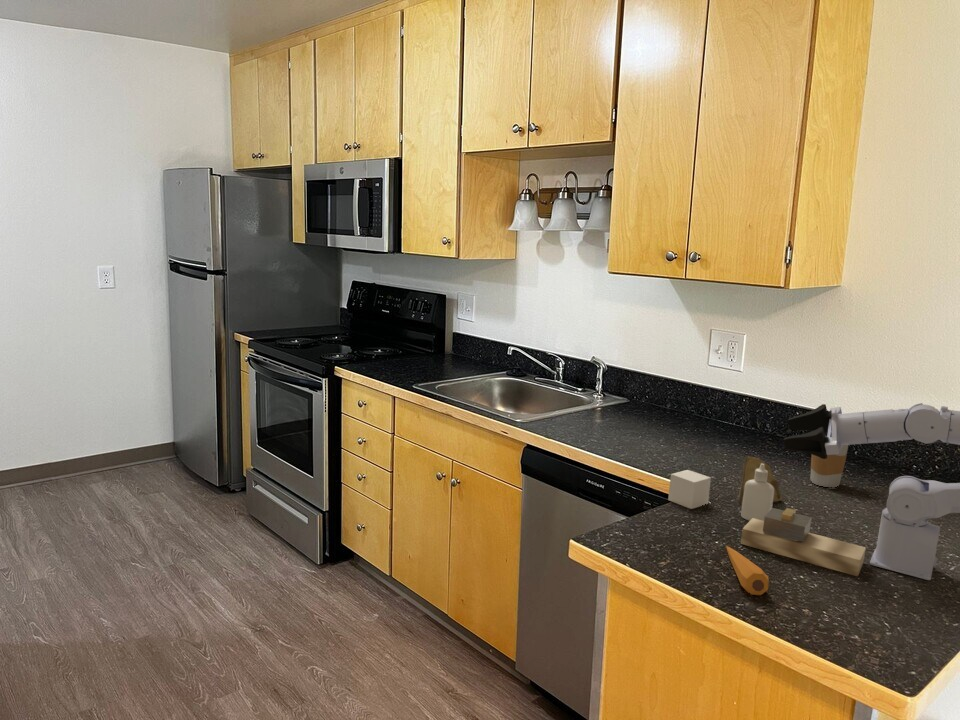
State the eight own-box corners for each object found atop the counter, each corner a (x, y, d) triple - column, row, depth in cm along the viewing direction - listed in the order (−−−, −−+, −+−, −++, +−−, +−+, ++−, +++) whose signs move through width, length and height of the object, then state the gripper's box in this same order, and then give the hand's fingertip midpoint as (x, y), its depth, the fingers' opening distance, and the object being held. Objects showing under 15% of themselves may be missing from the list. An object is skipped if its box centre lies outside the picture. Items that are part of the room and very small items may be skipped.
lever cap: (809, 531, 138) (812, 512, 137) (802, 541, 133) (805, 521, 132) (770, 521, 142) (773, 502, 141) (762, 531, 137) (765, 511, 136)
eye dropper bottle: (755, 514, 155) (762, 459, 153) (773, 524, 150) (781, 468, 147) (737, 515, 153) (744, 460, 151) (755, 526, 148) (762, 469, 146)
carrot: (764, 604, 118) (777, 579, 118) (738, 591, 118) (752, 567, 118) (730, 561, 138) (742, 540, 138) (709, 550, 138) (720, 529, 138)
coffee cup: (848, 485, 177) (857, 424, 175) (836, 493, 171) (846, 430, 169) (812, 476, 183) (821, 417, 180) (800, 483, 177) (808, 422, 174)
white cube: (667, 500, 160) (670, 474, 159) (684, 495, 164) (687, 469, 163) (691, 509, 156) (694, 482, 155) (708, 504, 159) (711, 477, 158)
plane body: (863, 562, 134) (866, 545, 133) (857, 576, 128) (860, 558, 128) (750, 532, 145) (752, 516, 144) (740, 543, 139) (742, 527, 139)
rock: (779, 484, 168) (734, 474, 169) (793, 463, 161) (747, 452, 163) (780, 525, 161) (733, 514, 162) (794, 505, 154) (746, 493, 155)
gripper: (863, 390, 139) (786, 398, 146) (861, 427, 127) (778, 434, 134) (869, 423, 140) (794, 429, 148) (868, 462, 129) (786, 467, 136)
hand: (786, 433), depth 141 cm, fingers open, 7 cm apart
